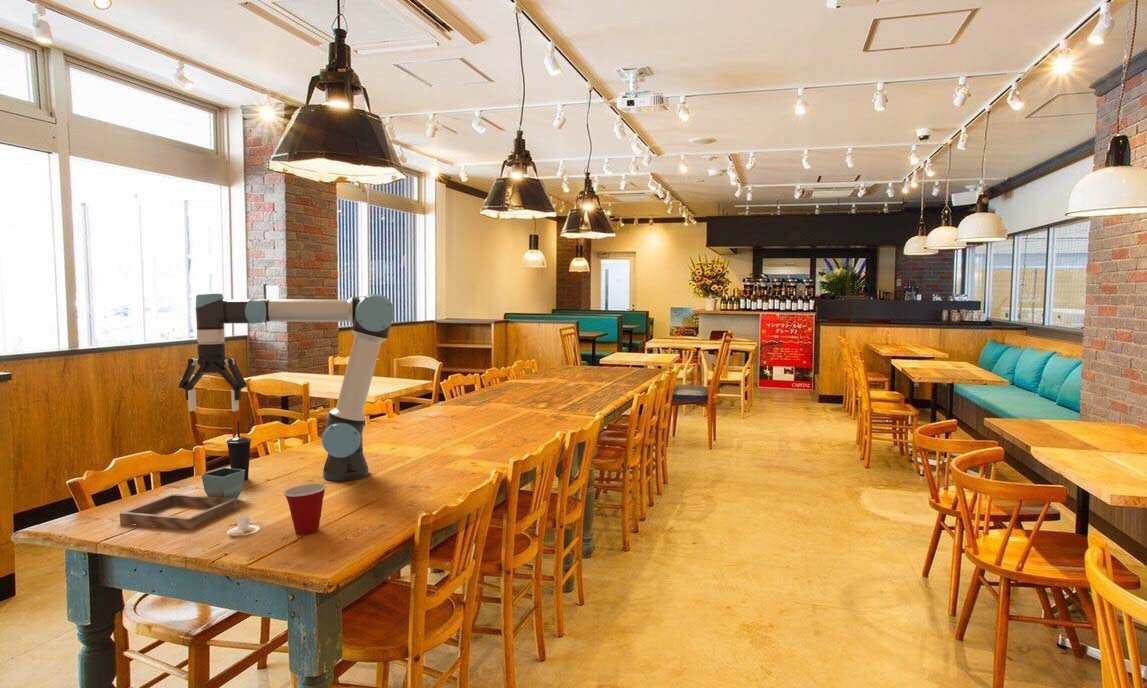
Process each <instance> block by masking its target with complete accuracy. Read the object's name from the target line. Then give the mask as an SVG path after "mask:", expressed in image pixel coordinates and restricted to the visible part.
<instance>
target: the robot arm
mask: <svg viewBox="0 0 1147 688" xmlns="http://www.w3.org/2000/svg"><path fill="white" fill-rule="evenodd" d="M194 309H195V318H196V341H197V343H198V345H197V356H198V358H195V357H191V358H188V360H187V366H186V369H185V370H184V373H183V375H182V377H181V379H180V381H179V384H178V388H179V389H183V390H184V391H185V399H186V401H188V411H189V412H193V411H196V410H197V395H196V394H197V393H196V392H197V391H196V389H195V386H196V385H197V383H198V382H200V380H201V379H202V378H203V376H204V375H205V374H209V373H210V374H211V373H212V374H218V375H220V376H221V377H223V379H224V380H225V381H226V383H228V385H229V386H231V388H232V390H230V392H231V394H230V397H231V412H237V411H239V410H240V403H239V401H240V400H241V399H242V392H241V391H242V389H245V388H247V386H248V384H247V382H246V381H245V378H244V377H243V375H242V372H241V371H240V369H239V368H238V365H237V360H236V358H234V357H233V358H228V359H227V358H226V344H225V343H224V342H225V341H226V340H225V324H228V325H229V324H251V325H252V324H253V325H254V324H255V325H256V324H263V323H267V322H268V323H269V322H272V323H273V322H279V323H280V322H281V323H282V322H283V323H284V322H287V323H288V322H290V323H291V322H295V323H297V322H298V323H300V322H301V323H303V322H307V323H309V322H313V323H314V322H317V323H318V322H319V323H324V322H325V323H327V322H329V323H331V322H333V323H336V322H337V323H350V324H351V325H352V327H351V332H352V334H353V335H354V336H353V337H354V339H353V342H352V345H351V350H350V353H349V357H348V361H347V365H346V369H345V373H344V376H343V380H342V384H341V386H340V387H341V388H340V390H339V395H338V399H337V401H336V406H335V407H334V408H333V409H331V410H330V411H328V412H327V414H326V417H325V419H326V423H325V424H326V425H325V428H324V431H323V433H322V435H321V444H322V447H323V449H324V450H325V451H326V453H327V455H326V456H327V457H326V460H325V463H324V466H323V470H322V477H323V479H324V480H327V481H332V482H334V481H335V482H342V481H343V482H346V481H353V480H358V479H361V478H365V477H367V476H368V475H369V472H370V471H369V465H368V462H367V459H366V457H365V454H364V443H363V440H364V437H363V434H364V433H363V432H364V428H365V424H366V420H367V417H366V416H365V415H364V409H365V406H366V402H367V398H368V395H369V390H370V387H371V383H372V379H373V375H374V372H375V368H376V365H377V364H376V363H377V361H378V357H379V354H380V353H379V352H380V348H381V346H382V343H383V342H385V341H386V340H388V339H389V334H390V330H391V326H392V323H393V321H394V318H395V308H394V305H393V304H392V301H391V300H390V299H389V298H388V297H386V296H385V295H382V294H377V293H372V294H367V295H364V296H351V297H350V298H348V299H307V298H306V299H303V298H302V299H301V298H300V299H298V298H297V299H296V298H294V299H293V298H292V299H291V298H288V299H287V298H286V299H285V298H280V299H279V298H276V299H275V298H269V299H268V298H247V299H246V298H245V299H226V298H224V296H223V293H220V292H219V293H218V292H217V293H216V292H215V293H214V292H213V293H212V292H211V293H210V292H209V293H207V292H205V293H204V292H202V293H198V294H196V296H195V308H194ZM197 365H198V366H199V368H198V369H197V370H196V373H194V372H195V369H196V367H197ZM226 365H227V366H228V369H229V370H228V369H227V367H226ZM229 371H230V372H231V373H230V372H229ZM193 373H194V374H193Z"/></svg>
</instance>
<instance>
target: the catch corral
mask: <svg viewBox="0 0 1147 688" xmlns="http://www.w3.org/2000/svg"><path fill="white" fill-rule="evenodd" d="M171 506H179V507H180V506H183V507H193V508H194V507H195V508H206V510H203V511H202V512H199V513H196V514H194V515H192V516H190V517H186V516H175V515H166V514H165V515H164V514H163V515H162V514H154V513H156V512H159V511H161V510H164V509H166V508H169V507H171ZM237 509H238V498H237V499H233V498H221V497H208V496H207V495H193V494H181V493H179V494H178V493H171V494H168V495H165V496H162V497H160V498H158V499H157V498H156V499H154V500H151V501H149V502H146V503H144V504H141V505H138V506H135V507H133V508H131V509H128V510H125V511H122V512H119V524H120V523H122V524H121V525H127V524H136V525H135V526H138V525H146V526H145V527H149V526H155V527H154V528H160V527H165V528H164V529H171V528H175V529H174V530H182V529H186V530H185V531H191V530H193V529H196V528H198V527H200V526H202V524H203V525H205V524H206V523H209V522H211V521H213V520H216V519H218V518H220V517H222V516H224V515H226V514H229V513H231V512H233V511H235V510H237ZM204 523H205V524H204Z"/></svg>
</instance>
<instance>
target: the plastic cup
mask: <svg viewBox="0 0 1147 688" xmlns="http://www.w3.org/2000/svg"><path fill="white" fill-rule="evenodd" d="M326 488H327V485H326V484H325V483H320V482H319V483H316V482H315V483H313V482H312V483H305V484H300V485H296V486H293V487H289V488H287V489H284V491H283V496H284V497H285V498H286V501H287V503H288V508H289V512H290V516H291V520H292V524H293V528H294V529H293V530H294V532H295V534H296V535H300V536H302V535H303V536H304V535H305V536H307V535H311V534H315V533H317V532H318V531H319V529H320V522H321V521H320V520H321V518H322V509H323V503H324V496H325V490H326Z"/></svg>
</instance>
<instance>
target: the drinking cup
mask: <svg viewBox="0 0 1147 688" xmlns="http://www.w3.org/2000/svg"><path fill="white" fill-rule="evenodd" d="M236 426H237V430H236V432H237V436H234V437H232V438H230V439H228V440H226V444H227V451H228V459H229V468H232V469H241V470H245V476H244V482H245V481H248V480H249V471H250V470H249V469H250V455H251V442H252V438H250V437H247V436H241V432H240V430H241V429H240V421H237V422H236Z"/></svg>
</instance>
